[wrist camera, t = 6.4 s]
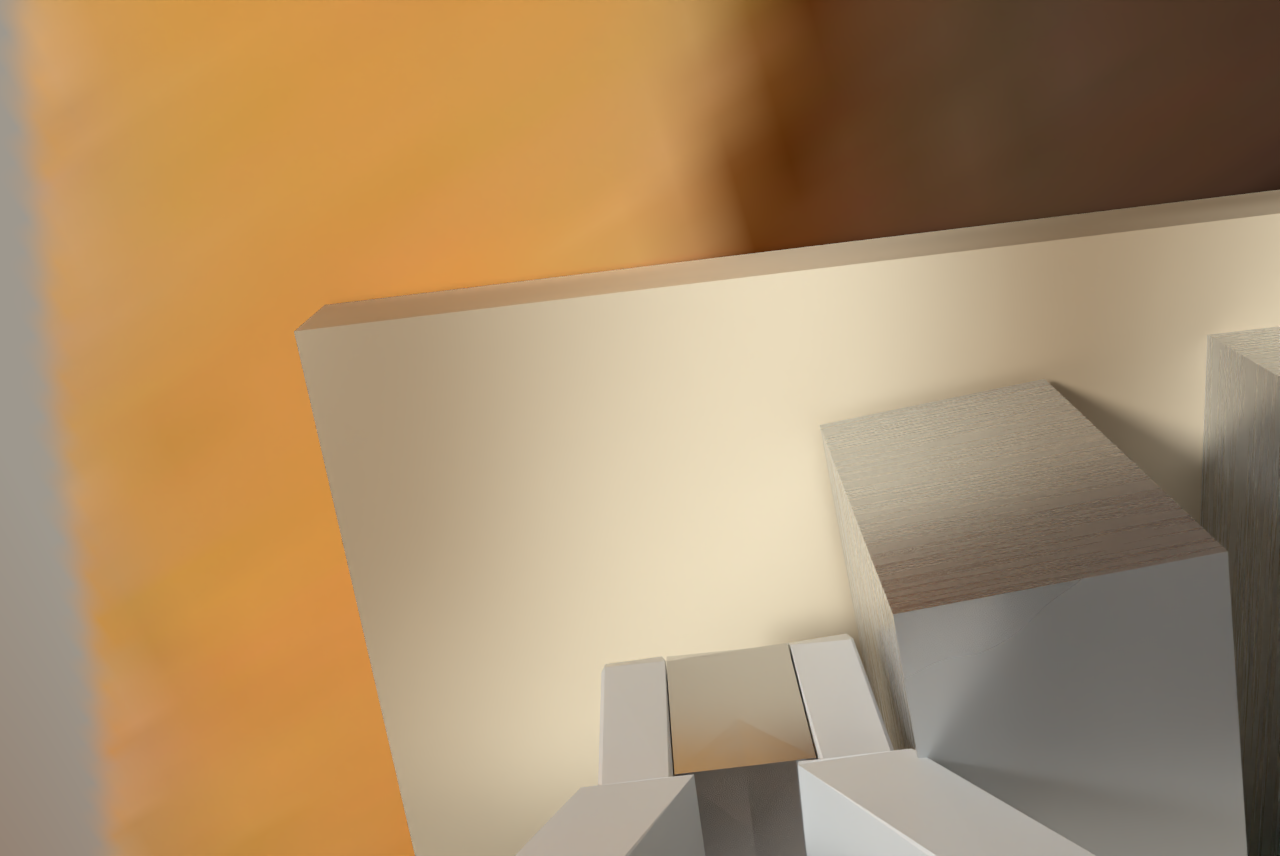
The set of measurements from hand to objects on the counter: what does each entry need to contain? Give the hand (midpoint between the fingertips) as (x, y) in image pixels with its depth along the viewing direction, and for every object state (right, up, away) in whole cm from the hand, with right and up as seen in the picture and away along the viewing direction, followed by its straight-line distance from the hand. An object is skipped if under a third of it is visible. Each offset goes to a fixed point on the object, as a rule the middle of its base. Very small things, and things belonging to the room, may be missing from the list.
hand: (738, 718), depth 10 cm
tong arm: (+3, -2, +2) cm, 4 cm away
